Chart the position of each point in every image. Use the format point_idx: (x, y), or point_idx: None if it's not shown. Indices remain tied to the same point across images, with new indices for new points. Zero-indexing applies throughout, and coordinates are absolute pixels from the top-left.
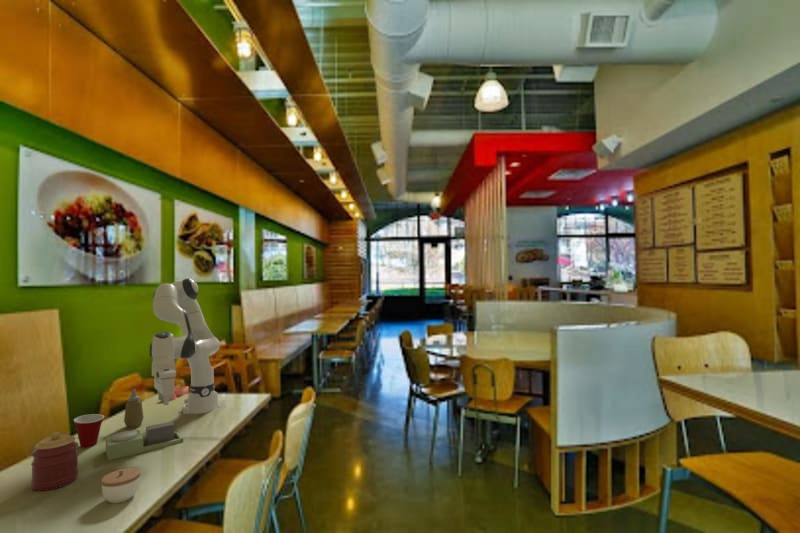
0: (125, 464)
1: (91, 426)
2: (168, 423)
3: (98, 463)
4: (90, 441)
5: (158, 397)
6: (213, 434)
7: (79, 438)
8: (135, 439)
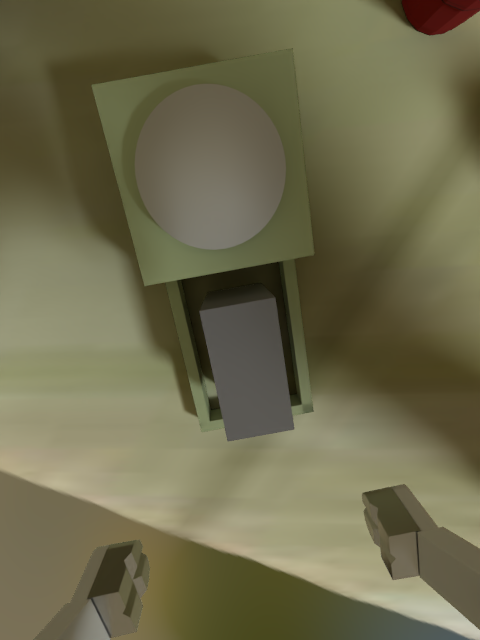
0: (49, 212)
1: None
2: (265, 414)
3: None
4: None
5: (420, 508)
6: (245, 513)
7: None
8: (139, 245)
